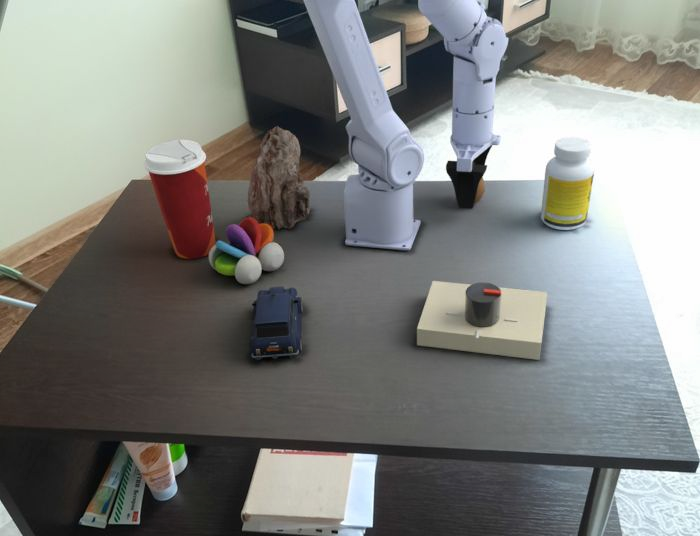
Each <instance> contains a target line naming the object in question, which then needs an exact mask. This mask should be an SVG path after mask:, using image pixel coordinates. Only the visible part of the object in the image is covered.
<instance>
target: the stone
mask: <svg viewBox="0 0 700 536" xmlns="http://www.w3.org/2000/svg"><path fill="white" fill-rule="evenodd" d="M259 148H260V155H259V156H258V157H257V159H256V160H255V161H254V163H253V165H252V168H251V173H250V177H249V185H248V188H247V207H248V211H249V212H248V217H251V218H254V219H255V220H257V222H258V223H259V224H262V223H264V224H268V225H270V226H271V227H272V229H273V230H275V229H277V230H281V229H293V227H294V226H295V224H296V223H297V222H300V221H304V220H306V218H307V217H309V214H310V211H311V206H310V195H311V193H310V189H309V187H308V184H306V183H305V182H304V180H303V179H302V177H301V174H300V170H299V168H300V157H301V145H300V143H299V139H298V138H297V137H296V135H295V134H294V133H291V131H290V130H287V129H283V128H281V127H279V126H278V125H277V126H274V128H271V129H269V130H268V131H267V133H265V135H264V137H263V138H262V141H261V143H260V145H259Z"/></svg>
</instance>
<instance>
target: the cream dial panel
mask: <svg viewBox="0 0 700 536" xmlns="http://www.w3.org/2000/svg"><path fill="white" fill-rule="evenodd" d="M470 285H471V284H470V283H461V282H460V283H458V282H451V281H449V282H448V281H438V280H432V282H431V284H430V287H429V291H428V293H427V296H426V299H425V302H424V306H423V308H422V312H421V315H420V318H419V322H418V324H417V326H416V346H420V347H429V348H437V349H445V350H454V351H461V352H469V353H476V354H477V353H478V354H487V355H495V356H501V357H502V356H503V357H511V358H519V359H529V360H535V361H540V357H541V350H542V342H543V334H544V325H545V317H546V310H547V309H546V308H547V299H548V292H547V291H540V290H531V289H519V288H511V287H500V286H499V287H498V286H497V287H498V288H499V289H500V290H501V305H500V317H499V321H498V322H497V323H496V324H494V325H492V326H489V327H476V326H473V325H471V324H469V323H468V322H467V321H466V320H465V294H466V289H467V288H468V287H469V286H470Z"/></svg>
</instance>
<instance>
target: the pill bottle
mask: <svg viewBox="0 0 700 536" xmlns="http://www.w3.org/2000/svg"><path fill="white" fill-rule="evenodd" d="M591 150H592V144H591V142H590V141H588V140H587V139H585V138H581V137H576V136H574V137H573V136H567V137H563V138H560V139H557V140H556V142H555V144H554V150H553V154H554V157H552V158H550V159H549V160H548V162H547V163H546V165H545V171H544V182H543V191H542V200H541V209H540V219H541V221H542V222H543V224H544V225H546V226H547V227H549V228H551V229H555V230H559V231H560V230H561V231H570V230H571V231H572V230H576V229H579V228H581V227H582V226H584V225H585V223H586V222H587V220H588V215H589V207H590V201H591V194H592V188H593V181H594V175H595V165H594V163H593V162H592V161H591V159H590V158H589V157H590V154H591Z"/></svg>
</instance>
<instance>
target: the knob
mask: <svg viewBox="0 0 700 536" xmlns="http://www.w3.org/2000/svg"><path fill="white" fill-rule="evenodd" d="M500 305H501V290H500V289H499V288H498V286H497V284H494V283H491V282H476V283H475V282H474V283H472V284H470V286H469V287H468V288H467V289H466V294H465V320H466V321H467V322H468V323H469V324H471V325H473V326H476V327H489V326H492V325H494V324H496V323H497V322H498V321H499V317H500Z"/></svg>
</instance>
